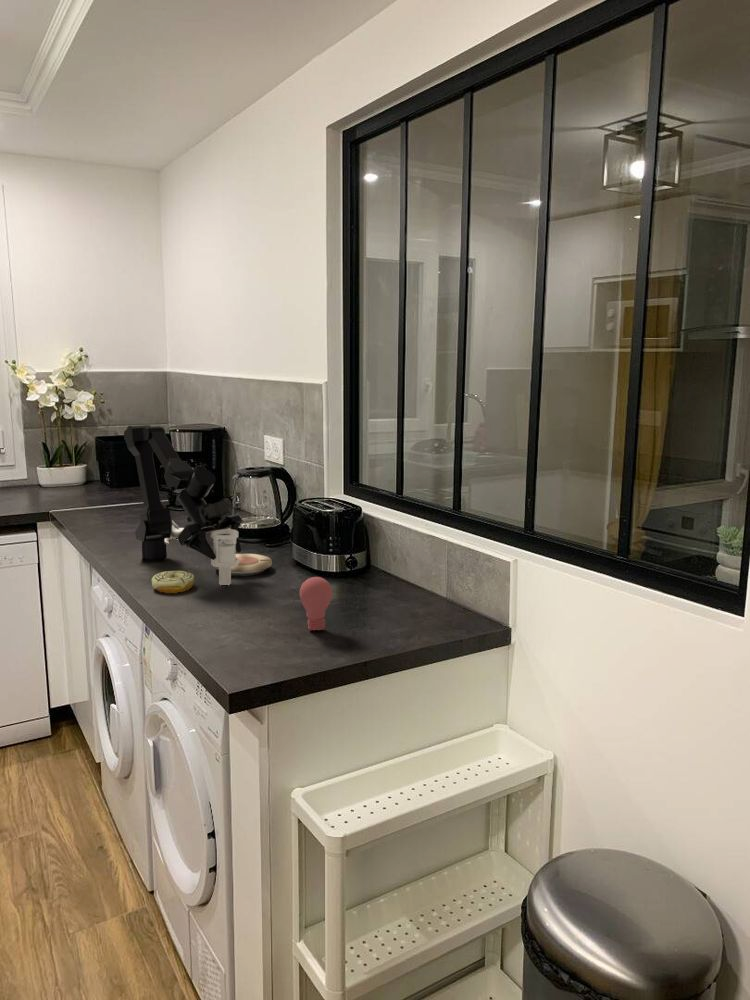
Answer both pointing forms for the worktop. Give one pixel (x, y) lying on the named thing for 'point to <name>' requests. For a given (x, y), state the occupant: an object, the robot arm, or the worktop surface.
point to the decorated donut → (173, 581)
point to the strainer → (225, 553)
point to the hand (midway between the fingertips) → (227, 555)
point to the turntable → (251, 563)
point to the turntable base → (246, 573)
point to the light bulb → (315, 601)
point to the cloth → (174, 532)
